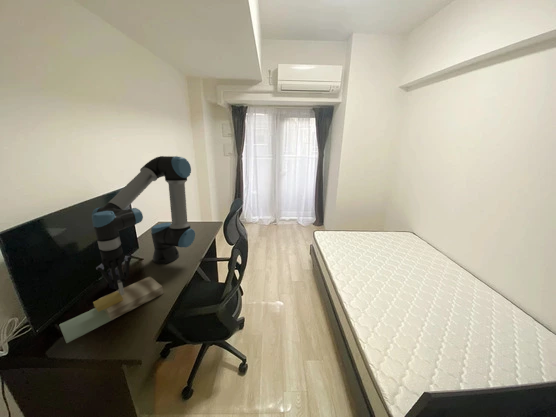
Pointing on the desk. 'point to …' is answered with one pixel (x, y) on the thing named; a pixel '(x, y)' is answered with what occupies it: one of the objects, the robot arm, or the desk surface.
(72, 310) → the desk surface
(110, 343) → the desk surface
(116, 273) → the speaker
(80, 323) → the mat
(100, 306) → the yellow flat block
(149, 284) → the deck
